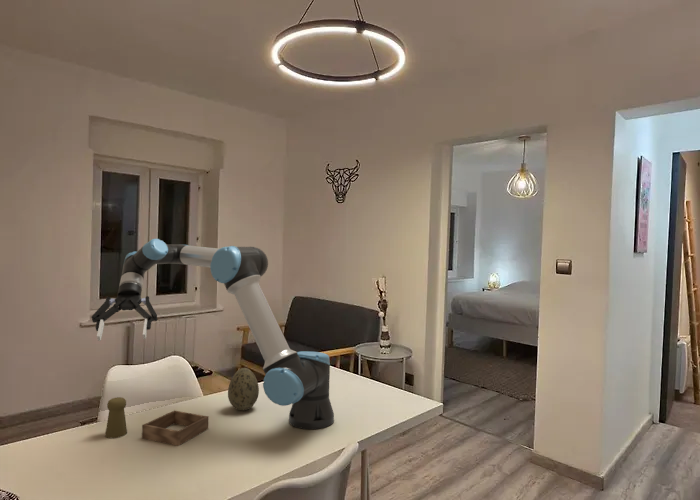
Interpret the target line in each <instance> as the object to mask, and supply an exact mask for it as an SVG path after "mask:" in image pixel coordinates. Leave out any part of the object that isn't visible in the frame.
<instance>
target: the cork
mask: <svg viewBox="0 0 700 500" xmlns="http://www.w3.org/2000/svg"><path fill="white" fill-rule="evenodd" d="M106 405H107V406H106V407H107V409H108V416H107V422H106V427H105V434H104V435H105V438H107V439H118V438H121V437H124V436H126V435H127V434H128V429H127V421H126V414H125V407H126V405H127V400H126V399H125V398H124V397H121V396H120V397H118V396H117V397H113V398H111V399H108V401H107V404H106Z"/></svg>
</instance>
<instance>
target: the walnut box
mask: <svg viewBox="0 0 700 500" xmlns="http://www.w3.org/2000/svg"><path fill="white" fill-rule="evenodd" d="M173 425H180V426H184V427H183V428H180V429H179V430H176V429H171V428H170V427H171V426H173ZM207 430H209V416H208V415H202V414H197V413H190V412H186V411H181V410H175V409H174V410H173V411H170V412H168V413H166V414H164V415H161V416H159V417H157V418H155V419H153V420H151V421H148V422H146V423H144V424H142V431H141V432H142V433H141V434H142V435H141V438H142V439H144V440H149V441H153V442H158V443H163V444H167V445H173V446H177V447H179V446H181V445H182V444H185V443H186V442H188V441H190V440H192V439H193V438H195V437H197V436H199V435H200V434H202V433H205V432H206V431H207Z"/></svg>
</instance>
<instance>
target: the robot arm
mask: <svg viewBox="0 0 700 500" xmlns="http://www.w3.org/2000/svg"><path fill="white" fill-rule="evenodd" d="M164 264H165V265H166V264H167V265H168V264H169V265H171V264H174V265H175V264H177V265H178V264H179V265H183V266H184V265H187V266H195V267H202V268H210V269H209V270H210V273H211V276H212V278H213V279H214V280H215V281H216V282H218V283H220V284H223V285H224V286H225V289H226V292H227V293H229V294H232V295H234V297H235V299H236V303H237V304H238V306H239V308H240V310H241V313H242V314H243V316H244V319H245V321H246V323H247V325H248V327H249V330H250V333H251V334H252V337H253V338H254V341H255V343H256V345H257V347H258V349H259V351H260V354H261V356H262V358H263V360H264V365H263V367H262V370H263V372H264V378H263V383H262V388H263V391H264V394H265V395H266V397H267V398H268V400H270V402H272V403H273V404H276V405H278V406H281V407H283V406H284V407H285V406H290V405H291V407H290V411H289V415H288V423H289V424H290V425H291V426H293V427H294V428H299V429H305V430H316V429H317V430H318V429H323V428H326V427H329V426H331V425H333V423H334V421H335V414H334V409H333V406H332V403H331V400H330V378H331V377H330V373H331V369H330V368H331V363H330V362H331V361H330V355H329V354H327V353H324V352H318V351H309V350H307V351H295V350H293V349H291V348H290V346H289V344H288V342H287V339H286V337H285V336H284V333H283V331H282V330H281V326H280V325H279V323H278V321H277V318H276V316H275V315H274V313H273V310H272V309H271V307H270V304H269V301H268V299H267V298H266V296H265V294H264V292H263V289H262V287H261V285H260V281H261V278H262V277H263V276H264V275H265V274H266V272H267V270H268V267H269V259H268V257H267V254H266V253H265V252H264V251H263V250H262V249H261V248H258V247H255V246H235V245H230V246H229V245H228V246H223V247H220V248H219V247H218V248H217V247H216V248H215V247H205V246H199V245H198V246H197V245H196V246H195V245H188V244H181V243H180V244H179V243H178V244H175V243H174V244H167V243H166V242H164V240H161V239H160V238H152V239H151V240H149V241H148V242H146V243H144V245H143V246H142V247H141V248H140V249H138V251H132V252H129V253H127V254H126V255H125V258H124V261H123V265H122V272H121V276H120V281H119V286H118V290H117V296H116V297H115V298H113V297H112V298H111V296H107V297H106V299H105V301H104V302H103V304H102V305H101V306H100V307H98V309H97V310H96V311H95V312H94V313H93V314H92V315H91V317H90V318H91V321H92V323H94V324H95V331H96V332H97V334H96V338H97V341H99V342H101V341H102V337H103V333H104V327H105V321H107V320H108V319H110V318H111V317H112V316H113V315H115V314H116V313H119V312H120V311H121V310H122V311H133V310H135V311H136V312H137V313H139V315H140V316H141V317H142V318H143V319H144V322H143V330H142V339H143V340H146V339H147V333H148V331H149V330H151V328H152V323H153V322H157V321H158V315H157V313H156V311H155V308H154V307H153V305H152V304H151V300H150V296H148V295H147V296H145V297H143V298H142V291H143V290H142V289H143V283H144V278H145V274H146V272H148V271H149V270H150V269H151V268H152V267H153V266H155V265H164ZM142 303H143V305H145V306H146V308H147V310H148V312H147V311H146V310H145V309H144V308H143V307H142V306H141V304H142ZM112 305H113V306H112Z"/></svg>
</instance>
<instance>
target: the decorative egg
mask: <svg viewBox="0 0 700 500" xmlns="http://www.w3.org/2000/svg"><path fill="white" fill-rule="evenodd" d="M259 386H260V385H259V383H258V380H257V378H256V375H255V374H254V372H253V371H252V370H250V368H247V367H242V368H239V369H238V370H237V371H236V372H235V373H234V374H233V375H232V377H231V379H230V381H229V385H228V389H227V397H228V401H229V403H230V405H231V406H232V407H233V408H234V409H235V410H238V411H247V410H249V409H251V408H252V407H253V406H254V405H255V404H256V403H257V400H258V398H259V394H260V387H259Z"/></svg>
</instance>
